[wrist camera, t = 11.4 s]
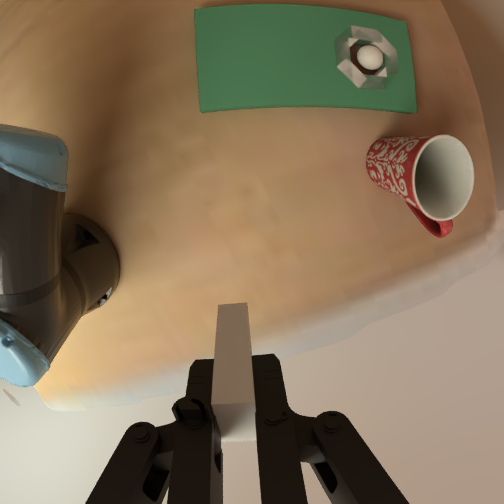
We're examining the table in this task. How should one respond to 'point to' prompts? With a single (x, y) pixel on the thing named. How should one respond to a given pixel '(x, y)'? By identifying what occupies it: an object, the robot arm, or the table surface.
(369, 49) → the ball
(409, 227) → the table surface
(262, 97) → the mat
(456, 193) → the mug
